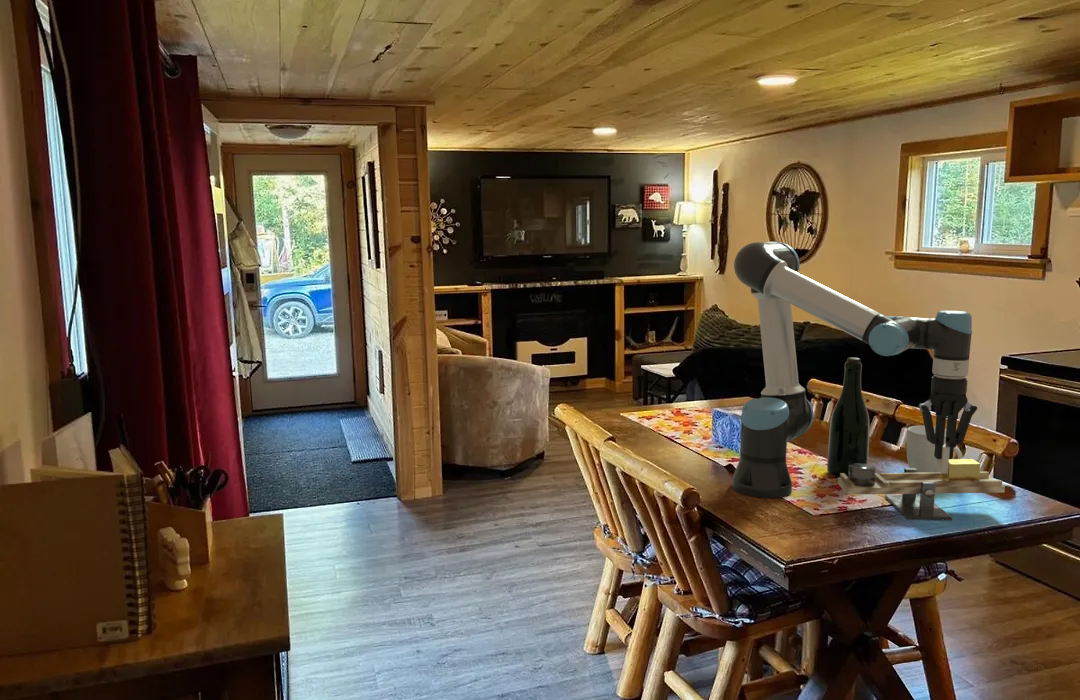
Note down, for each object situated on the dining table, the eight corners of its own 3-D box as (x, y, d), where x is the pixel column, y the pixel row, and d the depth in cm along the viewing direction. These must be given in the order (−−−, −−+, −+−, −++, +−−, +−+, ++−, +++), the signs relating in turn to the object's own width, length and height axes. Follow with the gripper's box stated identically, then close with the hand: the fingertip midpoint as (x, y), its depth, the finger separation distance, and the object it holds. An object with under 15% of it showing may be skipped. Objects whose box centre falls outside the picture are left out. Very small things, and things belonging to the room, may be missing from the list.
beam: (847, 494, 186) (847, 483, 186) (837, 483, 194) (838, 472, 194) (1004, 492, 183) (1005, 480, 183) (988, 481, 191) (988, 470, 190)
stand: (907, 519, 182) (910, 485, 181) (885, 497, 197) (887, 465, 196) (951, 520, 182) (954, 486, 180) (925, 498, 196) (928, 466, 195)
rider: (948, 484, 186) (949, 464, 185) (941, 479, 190) (942, 459, 189) (979, 484, 185) (980, 463, 184) (971, 478, 189) (972, 458, 188)
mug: (971, 481, 209) (975, 434, 207) (949, 489, 203) (952, 441, 201) (918, 467, 221) (921, 423, 219) (896, 474, 215) (899, 429, 213)
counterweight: (852, 486, 187) (852, 471, 186) (845, 479, 193) (845, 463, 192) (878, 486, 186) (878, 470, 186) (870, 478, 192) (870, 463, 192)
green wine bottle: (836, 466, 223) (843, 353, 218) (873, 474, 216) (881, 357, 211) (820, 474, 216) (826, 357, 211) (857, 483, 208) (864, 362, 203)
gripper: (927, 378, 181) (920, 476, 184) (986, 379, 179) (977, 477, 183) (915, 372, 188) (908, 466, 192) (971, 373, 187) (963, 467, 190)
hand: (942, 471), depth 187 cm, fingers closed
